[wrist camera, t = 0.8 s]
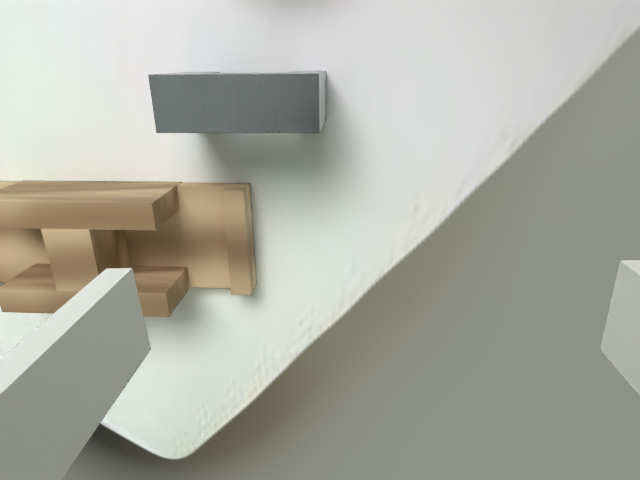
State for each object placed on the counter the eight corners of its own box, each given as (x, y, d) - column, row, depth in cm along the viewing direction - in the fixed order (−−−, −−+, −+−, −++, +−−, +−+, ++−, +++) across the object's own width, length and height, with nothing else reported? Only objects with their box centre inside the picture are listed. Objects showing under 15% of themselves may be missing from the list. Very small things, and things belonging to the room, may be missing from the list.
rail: (-41, 180, 33) (-107, 200, 29) (249, 182, 32) (231, 204, 27) (-10, 277, 36) (-65, 310, 32) (256, 283, 35) (241, 318, 30)
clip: (189, 71, 29) (148, 74, 23) (325, 70, 29) (319, 73, 23) (194, 118, 31) (156, 132, 25) (326, 118, 30) (319, 132, 24)
